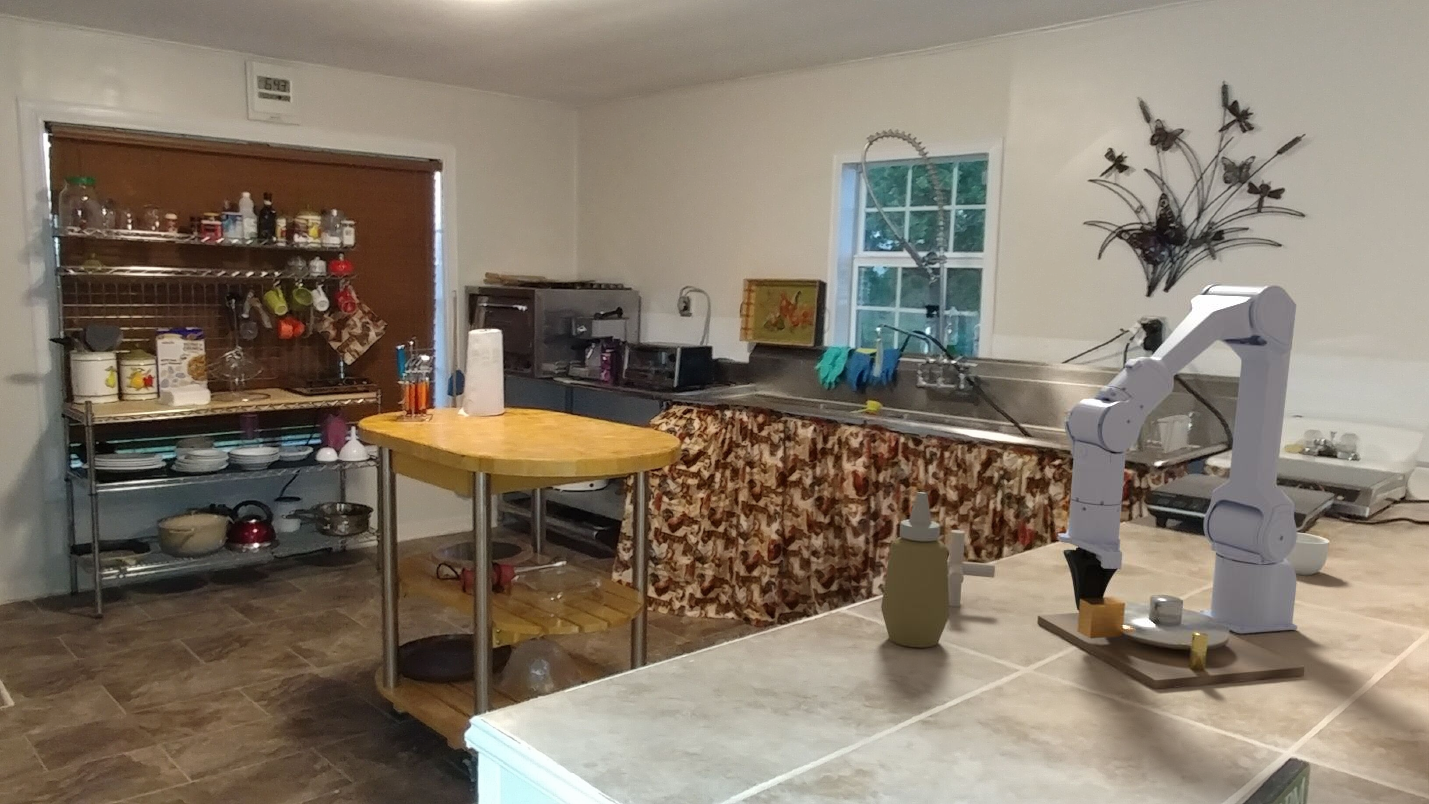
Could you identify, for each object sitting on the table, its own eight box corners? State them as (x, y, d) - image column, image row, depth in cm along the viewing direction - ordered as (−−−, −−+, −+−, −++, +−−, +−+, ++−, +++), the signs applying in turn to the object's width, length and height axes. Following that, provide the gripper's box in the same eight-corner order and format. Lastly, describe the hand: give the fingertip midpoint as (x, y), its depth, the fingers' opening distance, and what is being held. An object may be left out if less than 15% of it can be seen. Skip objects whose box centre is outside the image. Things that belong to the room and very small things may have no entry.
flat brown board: (1168, 614, 139) (1169, 599, 138) (1303, 675, 118) (1305, 658, 117) (1037, 623, 133) (1038, 607, 133) (1154, 689, 112) (1156, 671, 112)
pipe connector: (993, 619, 134) (999, 543, 133) (914, 612, 136) (919, 537, 135) (989, 597, 143) (994, 526, 142) (915, 590, 145) (919, 520, 144)
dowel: (1197, 665, 117) (1200, 631, 116) (1208, 670, 115) (1211, 635, 115) (1185, 666, 116) (1188, 632, 116) (1196, 672, 115) (1199, 636, 114)
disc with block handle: (1172, 607, 134) (1174, 577, 133) (1256, 645, 120) (1259, 611, 120) (1048, 616, 129) (1051, 584, 128) (1122, 656, 115) (1125, 621, 115)
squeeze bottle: (907, 656, 119) (916, 502, 117) (865, 634, 126) (873, 488, 124) (962, 647, 123) (971, 497, 121) (918, 626, 130) (927, 484, 128)
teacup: (1332, 572, 163) (1336, 538, 162) (1317, 581, 158) (1321, 546, 157) (1263, 558, 170) (1267, 526, 170) (1247, 566, 165) (1250, 533, 164)
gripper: (1045, 487, 131) (1037, 592, 133) (1080, 512, 117) (1071, 629, 118) (1101, 489, 131) (1093, 594, 132) (1144, 515, 116) (1134, 632, 118)
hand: (1087, 611), depth 125 cm, fingers closed
